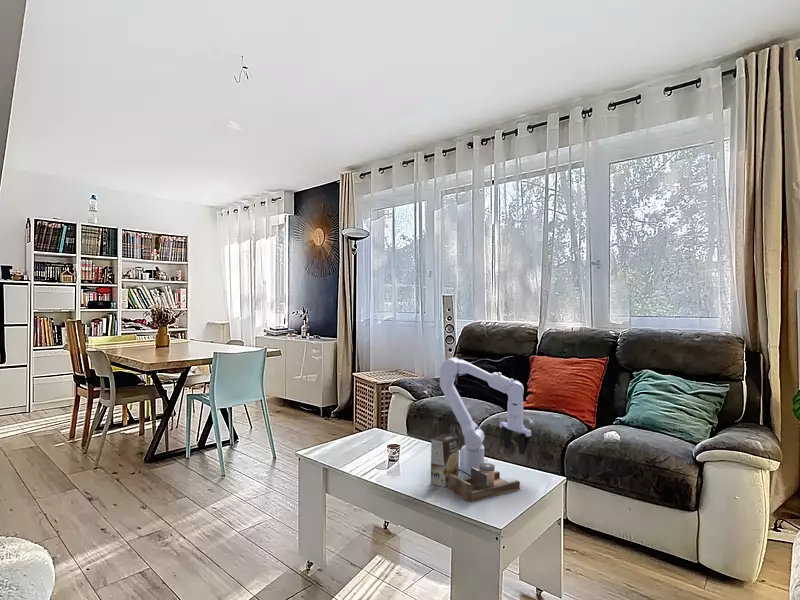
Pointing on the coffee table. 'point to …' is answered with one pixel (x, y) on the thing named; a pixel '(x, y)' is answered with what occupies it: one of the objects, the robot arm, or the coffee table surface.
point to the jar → (488, 472)
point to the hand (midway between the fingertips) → (514, 450)
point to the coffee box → (444, 458)
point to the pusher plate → (479, 478)
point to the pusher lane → (472, 493)
